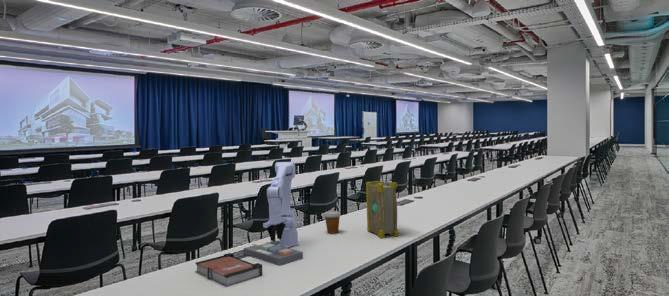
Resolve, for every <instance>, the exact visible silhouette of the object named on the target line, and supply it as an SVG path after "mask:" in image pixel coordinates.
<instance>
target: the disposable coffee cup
mask: <svg viewBox="0 0 669 296" xmlns="http://www.w3.org/2000/svg"><path fill="white" fill-rule="evenodd" d="M340 216H341V213H340V211H336V210H330V211H325V212H324V218H325V224H326V232H327V234H328V235H336V234H339V227H340Z"/></svg>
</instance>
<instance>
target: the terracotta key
mask: <svg viewBox="0 0 669 296" xmlns="http://www.w3.org/2000/svg"><path fill="white" fill-rule="evenodd" d="M290 249H291V248H290ZM290 249H282V250H279V251H278V254H279V255H283V256H286V255H290V254H293V250H290Z"/></svg>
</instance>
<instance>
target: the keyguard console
mask: <svg viewBox="0 0 669 296" xmlns="http://www.w3.org/2000/svg"><path fill="white" fill-rule="evenodd" d="M264 243H267V244H272V245H275V247H276V246H279V245H278V244H275V243H271V242H264ZM279 247H283V246H279ZM283 248H284V249H290V250H293V254H290V255H286V256H283V255H279V254H278V253H272V252H270V250H269V251H265V250H262V249H261V248H260V249H259V248H255V247H254V245H251V246H248V247H244V248H243V254H244V255H245V256H249V257H251V258H255V259H258V260H261V261H264V262H266V263H270V264H273V265H276V266H279V267H280V266H283V265H286V264H288V263H292V262H295V261H299V260H301V259H304V252H303V251H301V250H298V249H293V248H291V247H288V248H287V247H283Z"/></svg>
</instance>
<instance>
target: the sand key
mask: <svg viewBox="0 0 669 296" xmlns="http://www.w3.org/2000/svg"><path fill="white" fill-rule="evenodd" d="M263 245H267V243H265V242H264V241H259V242H255V243H253V246H254V247H255V248H259V249H260V248H261V246H263Z"/></svg>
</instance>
